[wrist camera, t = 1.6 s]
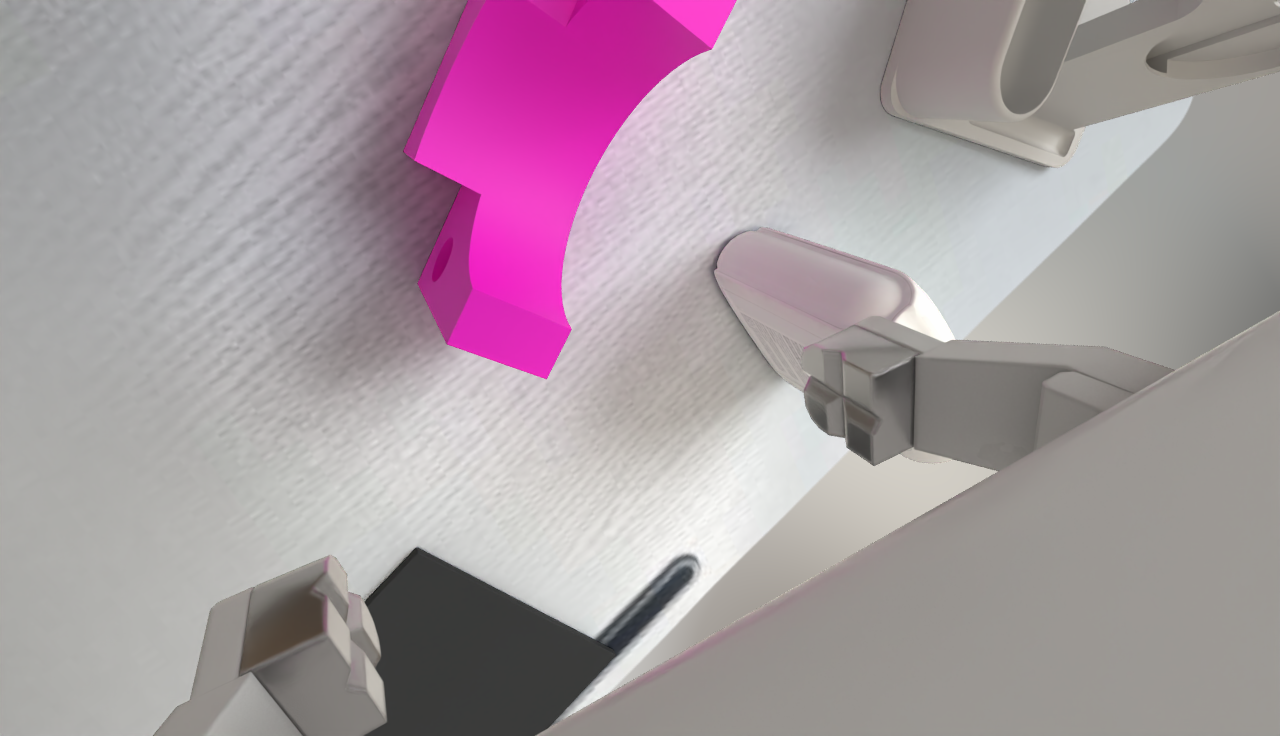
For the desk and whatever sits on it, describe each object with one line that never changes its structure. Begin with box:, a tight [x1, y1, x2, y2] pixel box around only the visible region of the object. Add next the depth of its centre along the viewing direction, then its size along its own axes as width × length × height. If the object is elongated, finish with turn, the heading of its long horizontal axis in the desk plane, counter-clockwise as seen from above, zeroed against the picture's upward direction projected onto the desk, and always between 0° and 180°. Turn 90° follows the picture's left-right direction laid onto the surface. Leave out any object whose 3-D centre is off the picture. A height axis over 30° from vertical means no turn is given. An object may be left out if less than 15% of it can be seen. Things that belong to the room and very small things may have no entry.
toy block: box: [403, 0, 737, 379], centre depth 22 cm, size 15×6×8 cm, turn 150°
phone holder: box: [881, 0, 1280, 168], centre depth 28 cm, size 17×10×18 cm, turn 77°
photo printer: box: [714, 227, 955, 463], centre depth 30 cm, size 10×4×12 cm, turn 38°
